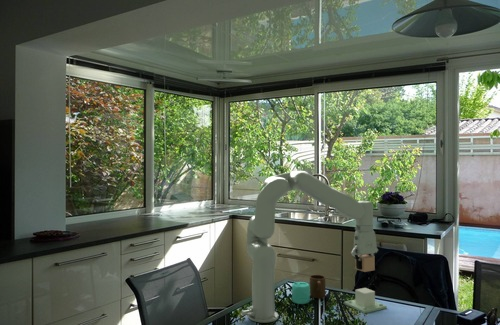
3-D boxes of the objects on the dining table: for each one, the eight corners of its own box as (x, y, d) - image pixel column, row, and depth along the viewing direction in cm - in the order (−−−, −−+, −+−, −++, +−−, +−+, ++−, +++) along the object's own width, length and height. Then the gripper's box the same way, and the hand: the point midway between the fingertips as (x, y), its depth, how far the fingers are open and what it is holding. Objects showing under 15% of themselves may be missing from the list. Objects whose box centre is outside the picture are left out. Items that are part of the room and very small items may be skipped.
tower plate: (364, 313, 172) (364, 297, 172) (344, 303, 184) (344, 288, 184) (386, 308, 178) (386, 292, 178) (365, 299, 190) (365, 284, 190)
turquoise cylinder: (309, 304, 184) (309, 287, 184) (292, 303, 185) (292, 286, 185) (309, 298, 192) (309, 281, 192) (292, 298, 193) (292, 281, 193)
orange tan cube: (364, 272, 177) (364, 258, 177) (355, 268, 182) (355, 255, 182) (374, 270, 180) (374, 256, 180) (365, 267, 185) (365, 254, 185)
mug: (328, 302, 187) (328, 282, 187) (311, 302, 187) (311, 281, 187) (324, 293, 199) (324, 274, 198) (308, 293, 199) (308, 274, 199)
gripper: (355, 231, 174) (355, 272, 174) (384, 227, 182) (385, 267, 182) (344, 228, 180) (344, 268, 181) (372, 225, 188) (373, 263, 188)
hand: (364, 267), depth 181 cm, fingers closed on orange tan cube, 6 cm apart
